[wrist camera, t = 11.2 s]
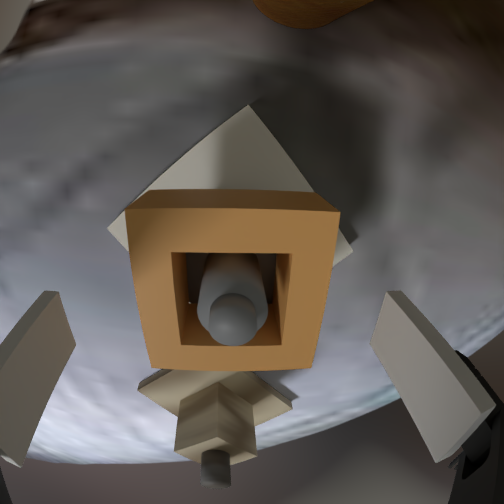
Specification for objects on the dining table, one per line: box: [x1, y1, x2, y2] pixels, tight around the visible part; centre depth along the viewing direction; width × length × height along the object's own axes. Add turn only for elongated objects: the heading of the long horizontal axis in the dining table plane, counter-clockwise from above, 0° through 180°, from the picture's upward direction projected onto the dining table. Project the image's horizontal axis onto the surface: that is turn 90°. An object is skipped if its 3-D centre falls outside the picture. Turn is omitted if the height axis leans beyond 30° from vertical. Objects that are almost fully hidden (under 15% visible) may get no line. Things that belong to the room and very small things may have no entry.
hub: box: [107, 105, 353, 346], centre depth 15 cm, size 12×12×10 cm
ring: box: [125, 189, 341, 371], centre depth 13 cm, size 8×8×4 cm
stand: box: [138, 369, 293, 489], centre depth 22 cm, size 12×10×10 cm
